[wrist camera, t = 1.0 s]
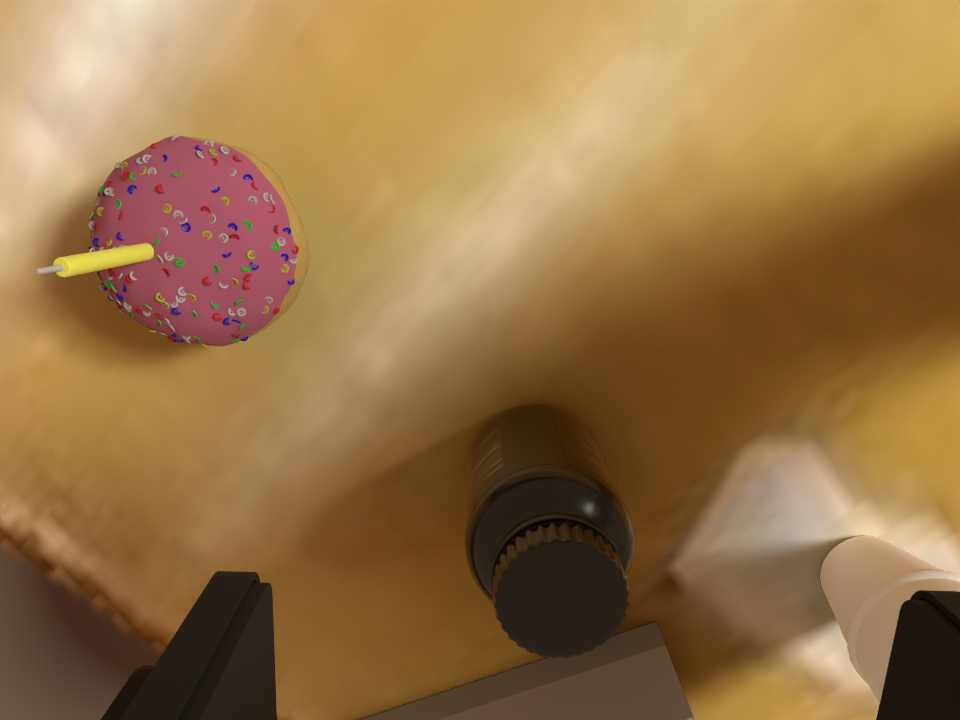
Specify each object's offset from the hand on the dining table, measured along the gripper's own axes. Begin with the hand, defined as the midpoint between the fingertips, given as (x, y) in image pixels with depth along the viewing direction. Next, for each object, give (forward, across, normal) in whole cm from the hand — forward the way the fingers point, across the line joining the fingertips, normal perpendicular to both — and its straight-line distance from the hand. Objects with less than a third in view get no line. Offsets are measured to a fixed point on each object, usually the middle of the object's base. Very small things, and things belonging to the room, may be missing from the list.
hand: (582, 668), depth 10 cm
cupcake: (+25, +13, -4) cm, 28 cm away
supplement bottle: (+25, -2, +7) cm, 26 cm away
